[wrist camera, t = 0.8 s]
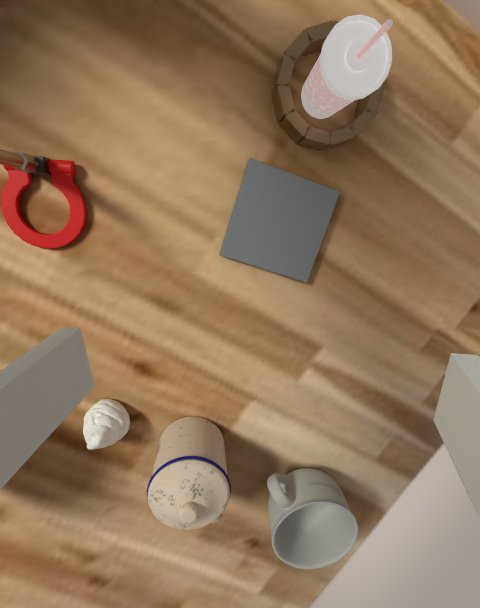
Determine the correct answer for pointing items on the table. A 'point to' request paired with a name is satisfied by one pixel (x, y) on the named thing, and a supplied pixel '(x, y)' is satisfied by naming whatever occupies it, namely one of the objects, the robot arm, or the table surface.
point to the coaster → (278, 221)
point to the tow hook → (20, 179)
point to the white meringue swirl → (105, 424)
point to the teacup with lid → (189, 475)
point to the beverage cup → (348, 65)
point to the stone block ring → (284, 104)
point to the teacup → (309, 519)
